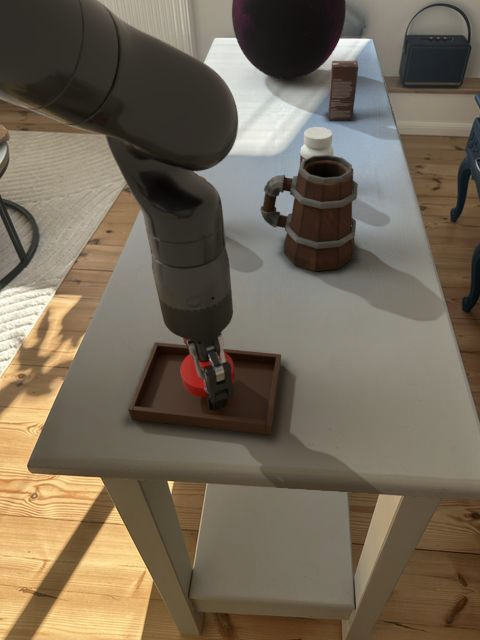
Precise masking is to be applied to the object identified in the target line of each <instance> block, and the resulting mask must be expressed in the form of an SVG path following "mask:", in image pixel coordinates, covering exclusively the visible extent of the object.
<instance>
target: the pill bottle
mask: <svg viewBox="0 0 480 640" xmlns="http://www.w3.org/2000/svg"><path fill="white" fill-rule="evenodd" d="M332 144H333V132H332V130H330V129H329V128H328V127H327V128H326V127H323V126H312V127H309V128H307V129H306V130H304V133H303V144H302V146H301V148H300V153H299V166H300V165H301V163H302V161H304V160H306V159H308V158H310V157H312V156H318V155H332V156H334V148H333V146H332Z"/></svg>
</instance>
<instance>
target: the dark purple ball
mask: <svg viewBox="0 0 480 640" xmlns="http://www.w3.org/2000/svg"><path fill="white" fill-rule="evenodd" d="M231 2H232V3H231V20H232V21H231V22H232V27H233V32H234V36H235V39H236V42H237V44H238V47H239V49H240V50H241V51H242V53H243V55H244V57H245V58H246V59H247V61H248V62H249V63H250V64H251V65H252V66H253V67H254V68H255V69H256V70H258V71H259V72H260V73H263V74H265V75H266V76H268V77H271V78H275V79H278V80H279V79H280V80H294V79H295V80H296V79H300V78H303V77H306V76H308V75H309V74H312V73H313V72H315V71H316V70H319V68H320V67H321V66H323V65H324V64H325V63H326V62H327V60H329V58H330V57H331V56H332V54H333V53H334V51H335V50H336V48H337V46H338V44H339V41H340V39H341V37H342V34H343V31H344V26H345V20H346V12H347V11H346V10H347V9H346V7H347V6H346V0H232V1H231Z"/></svg>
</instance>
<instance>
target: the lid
mask: <svg viewBox="0 0 480 640" xmlns="http://www.w3.org/2000/svg"><path fill="white" fill-rule="evenodd" d="M224 355H225V359H226V362H227V361H228V362H229V364H230V365H231V368H232V369H231V374H232V383H233V381H234V379H235V377H234V365H233V361H232V359H231V357H230V356H229V355H228V354H227V353H225V352H224ZM208 365H210V362H206V363H202V362H200V366H201V367H205V366H208ZM180 371H181V377H182V381H183V385H184V387H185V388H186V390H187V391H189V392H190V393H191V394H193V395H195V396H198V397H207V396H206V392H205V390H204V388H205V387H204V383H203V379H202V378H200V377H199V376H198V374H197V373H196V369H195V366H194V362H193V358H192V355H191V354H189V355H188V356H187V357H186V358H185V359H184V361H183V362H182V365H181V370H180Z"/></svg>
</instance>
